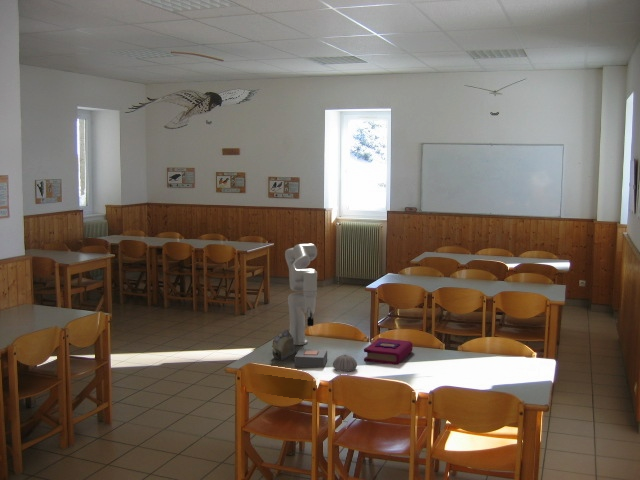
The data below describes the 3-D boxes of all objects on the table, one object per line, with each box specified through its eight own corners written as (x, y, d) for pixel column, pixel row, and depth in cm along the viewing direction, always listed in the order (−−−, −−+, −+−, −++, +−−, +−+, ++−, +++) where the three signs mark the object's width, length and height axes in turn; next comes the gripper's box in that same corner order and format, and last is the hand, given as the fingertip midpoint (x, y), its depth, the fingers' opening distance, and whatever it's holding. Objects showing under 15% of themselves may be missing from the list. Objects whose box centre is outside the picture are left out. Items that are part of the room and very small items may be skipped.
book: (412, 352, 395) (412, 340, 394) (398, 365, 370) (398, 352, 369) (378, 349, 404) (378, 336, 403) (363, 361, 378) (363, 348, 377)
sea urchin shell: (336, 374, 355) (336, 359, 354) (329, 366, 368) (329, 352, 367) (360, 372, 358) (360, 357, 357) (352, 364, 371) (352, 350, 370)
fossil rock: (283, 367, 379) (278, 343, 375) (268, 366, 383) (263, 342, 379) (297, 351, 397) (293, 327, 393) (283, 350, 401) (279, 327, 397)
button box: (299, 358, 385) (299, 348, 384) (327, 359, 382) (327, 349, 382) (294, 366, 369) (294, 356, 368) (323, 367, 367) (323, 357, 366)
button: (306, 355, 379) (306, 350, 379) (318, 356, 378) (318, 351, 378) (304, 359, 372) (304, 354, 372) (316, 359, 371) (316, 354, 371)
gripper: (305, 290, 380) (305, 322, 382) (301, 295, 365) (301, 328, 367) (318, 290, 379) (318, 322, 381) (314, 296, 364) (315, 329, 366)
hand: (310, 325), depth 374 cm, fingers closed
